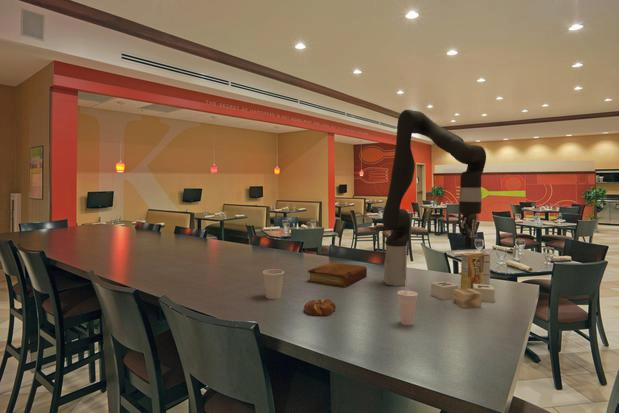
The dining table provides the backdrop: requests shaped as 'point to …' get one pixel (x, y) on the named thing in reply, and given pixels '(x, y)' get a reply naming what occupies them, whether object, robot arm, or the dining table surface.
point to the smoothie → (407, 305)
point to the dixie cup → (273, 283)
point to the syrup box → (486, 267)
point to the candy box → (471, 270)
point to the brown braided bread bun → (319, 307)
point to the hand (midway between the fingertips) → (468, 247)
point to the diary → (337, 274)
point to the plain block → (467, 298)
